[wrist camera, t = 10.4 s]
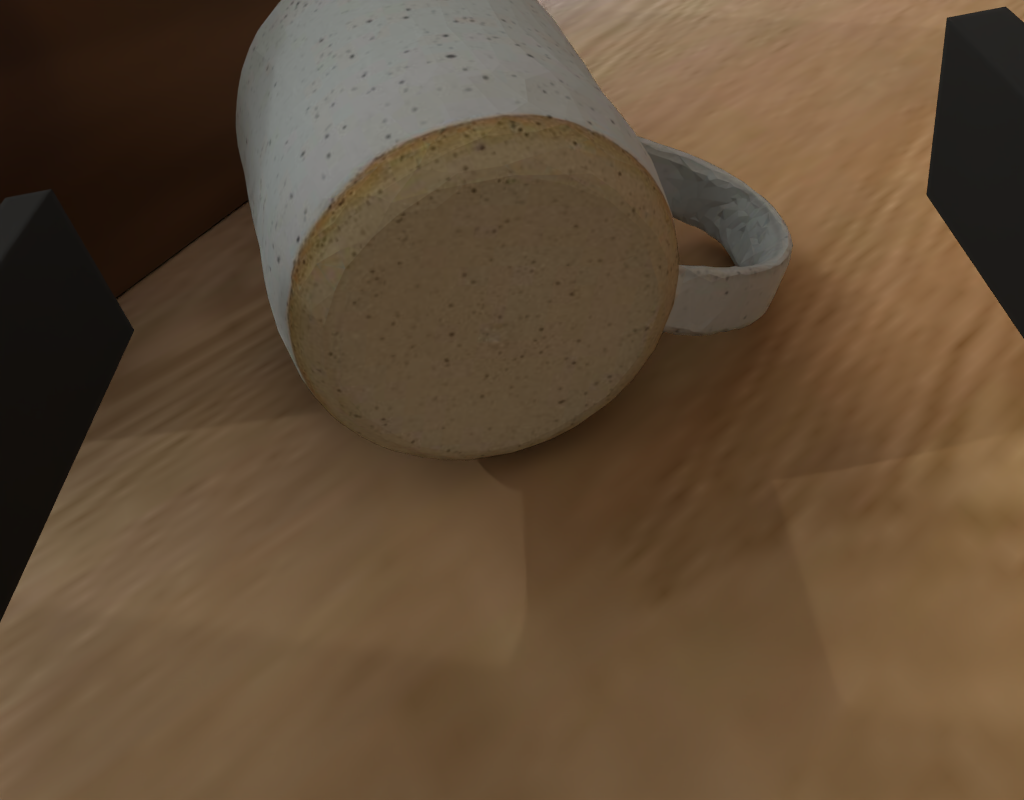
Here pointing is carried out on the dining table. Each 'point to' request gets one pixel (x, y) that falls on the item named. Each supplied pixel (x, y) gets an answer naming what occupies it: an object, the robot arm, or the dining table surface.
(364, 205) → the ceramic mug
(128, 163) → the brown wooden nightstand
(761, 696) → the dining table surface
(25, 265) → the robot arm
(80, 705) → the dining table surface
